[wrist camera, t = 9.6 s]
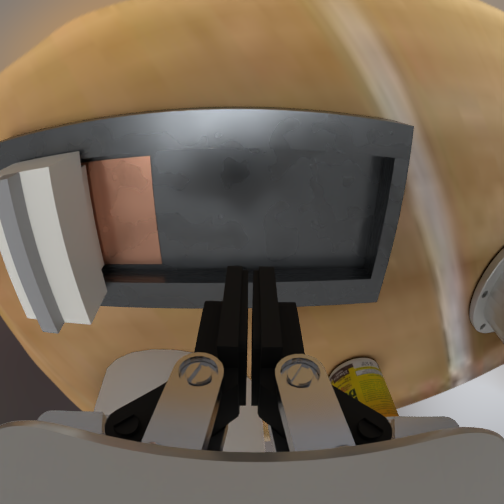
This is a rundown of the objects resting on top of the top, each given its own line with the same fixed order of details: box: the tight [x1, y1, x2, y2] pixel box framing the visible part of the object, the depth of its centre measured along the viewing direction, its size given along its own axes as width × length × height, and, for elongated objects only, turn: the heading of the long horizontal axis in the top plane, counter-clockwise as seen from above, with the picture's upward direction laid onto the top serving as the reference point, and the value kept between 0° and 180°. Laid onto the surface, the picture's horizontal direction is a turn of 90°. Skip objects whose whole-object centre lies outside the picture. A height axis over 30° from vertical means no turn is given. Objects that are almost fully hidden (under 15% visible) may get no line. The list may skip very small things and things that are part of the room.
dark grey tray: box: [0, 107, 414, 308], centre depth 18 cm, size 26×12×3 cm, turn 89°
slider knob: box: [0, 151, 107, 333], centre depth 14 cm, size 5×9×6 cm, turn 179°
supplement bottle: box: [329, 358, 399, 419], centre depth 24 cm, size 6×6×10 cm
